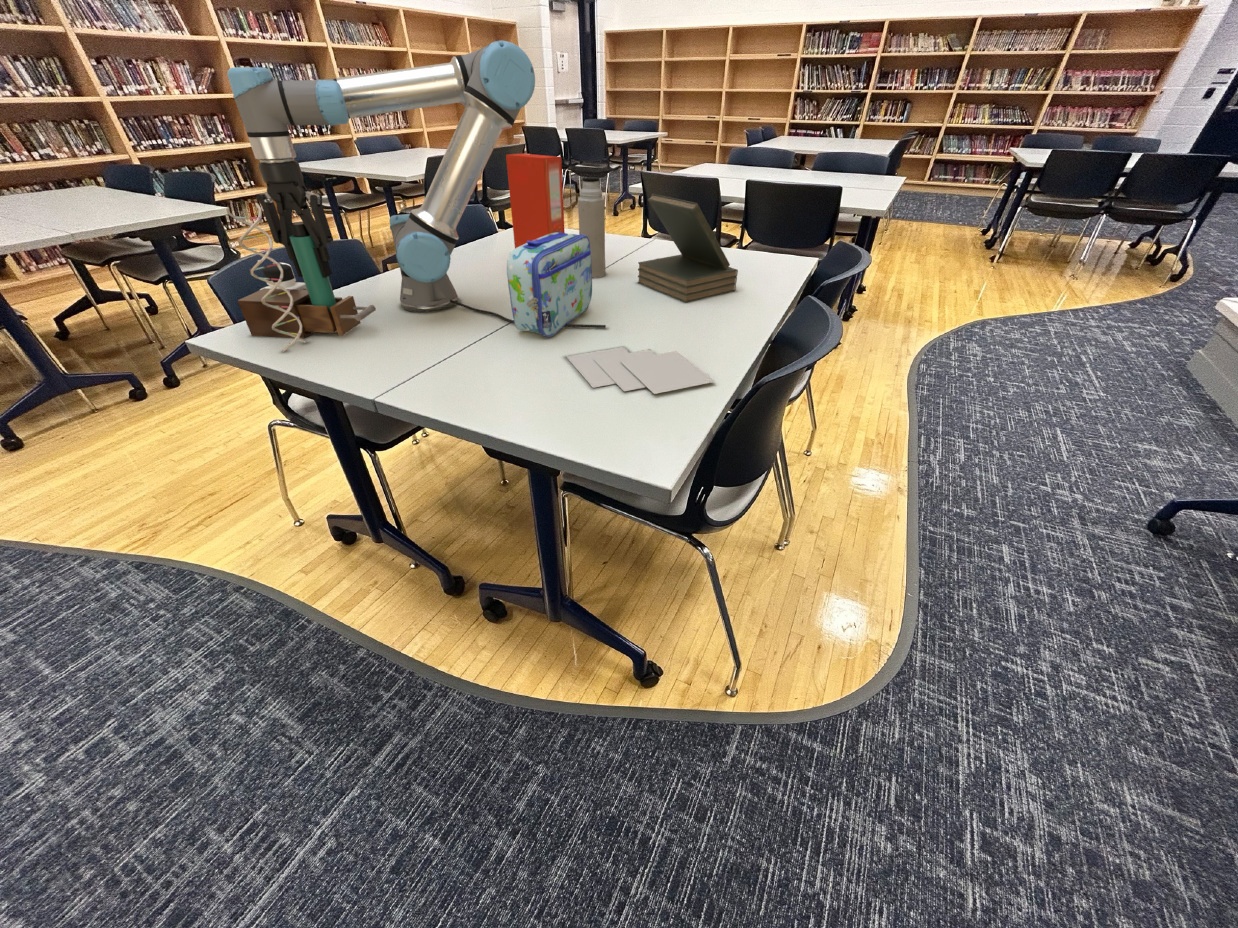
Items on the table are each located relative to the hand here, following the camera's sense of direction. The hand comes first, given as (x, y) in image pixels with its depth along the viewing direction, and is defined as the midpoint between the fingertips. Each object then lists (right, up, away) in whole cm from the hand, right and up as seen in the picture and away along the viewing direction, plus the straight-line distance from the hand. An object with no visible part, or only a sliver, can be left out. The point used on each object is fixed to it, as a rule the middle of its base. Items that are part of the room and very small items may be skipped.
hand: (315, 275), depth 123 cm
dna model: (-5, -17, 0) cm, 17 cm away
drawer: (+2, -11, +7) cm, 13 cm away
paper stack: (+74, -24, -10) cm, 79 cm away
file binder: (+43, +28, +64) cm, 82 cm away
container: (-16, -5, +17) cm, 24 cm away
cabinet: (-11, -10, +9) cm, 18 cm away
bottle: (0, -6, +4) cm, 8 cm away
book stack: (+91, +10, +39) cm, 99 cm away
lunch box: (+54, -8, +13) cm, 56 cm away
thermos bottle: (+62, +18, +50) cm, 81 cm away
